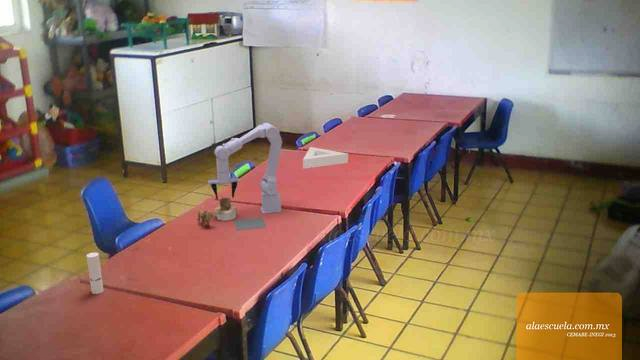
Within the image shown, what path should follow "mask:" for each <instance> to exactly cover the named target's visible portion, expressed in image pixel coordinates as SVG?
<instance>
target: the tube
mask: <svg viewBox="0 0 640 360" xmlns="http://www.w3.org/2000/svg"><path fill="white" fill-rule="evenodd" d="M86 263H87V269H88V270H87V271H88V274H89V283H90V289H91V294H94V295H98V294H99V295H100V294H102V293H103V292H104V283H103V278H102V268H101V261H100V254H99V252H90V253H87V254H86Z"/></svg>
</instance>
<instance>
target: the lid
mask: <svg viewBox="0 0 640 360" xmlns="http://www.w3.org/2000/svg"><path fill="white" fill-rule="evenodd" d="M213 211H214V214H216V213H218V214H230V213H234V212H237V211H238V207H237V206H235V205H233V204H232V205H231V198H230V197H221V198H220V200H219V206H217V207H215V208H214V210H213Z"/></svg>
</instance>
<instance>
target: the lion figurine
mask: <svg viewBox="0 0 640 360" xmlns="http://www.w3.org/2000/svg"><path fill="white" fill-rule="evenodd" d="M215 215H216V213H213V212H212V210H210V209H207V210H203V209H200V210H198V213H197V219H196V220H197V221H198V223H197V225H201V223H202V226H203V227H202V228H203V229H206V226H207V227H210V226H211V225H210V222H211V221H212V219H214V217H215ZM201 221H202V222H201Z"/></svg>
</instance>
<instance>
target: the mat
mask: <svg viewBox="0 0 640 360" xmlns="http://www.w3.org/2000/svg"><path fill="white" fill-rule="evenodd" d="M233 223H234V226H235V228H236V231H237V232H238V231H248V230H255V229H256V230H257V229H266V228H268V227H267V225H266V223H265V220H264V218H263V216H258V217H249V218H239V219H233Z"/></svg>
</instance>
